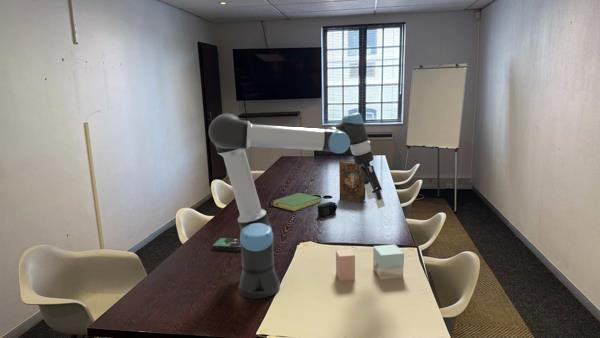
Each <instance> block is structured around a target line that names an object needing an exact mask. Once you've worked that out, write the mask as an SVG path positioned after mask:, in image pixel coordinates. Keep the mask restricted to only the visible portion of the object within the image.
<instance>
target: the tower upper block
mask: <svg viewBox="0 0 600 338" xmlns="http://www.w3.org/2000/svg"><path fill="white" fill-rule="evenodd" d="M372 253H373V254H372V257H373V258H374V259H375V261H376V262H377V263H378V265H379V266H380V267H381V268H384V267H394V266H403V267H404V263H405V260H404V259H405V253H404V252H403V251H402V249H401V248H399V246H398V245H396V244H395V243H394V244H384V245H383V244H382V245H373V251H372ZM373 258H372V259H373Z"/></svg>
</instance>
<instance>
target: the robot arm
mask: <svg viewBox="0 0 600 338" xmlns="http://www.w3.org/2000/svg"><path fill="white" fill-rule="evenodd" d="M341 120H342V121H341V122H340V123H338V124H334V125H331V126H328V127H325V128H308V127H294V126H293V127H292V126H281V125H280V126H279V125H266V124H253V123H251V122H250V121H249V120H241V119H240V117H238V116H237V115H236V114H233V113H221V114H219V115H217V116H216V117H215V118H214V119H213V120H212V121H211V123H210V125H209V127H208V136H209V139H210V141H211V143H213V145H215V149H216V151H217V154H218V155H220V156H221V157H222V158H223V161H224V165H225V168H226V172H227V174H228V178H229V182H230V184H231V185H230V186H231V188H232V191H233V195H234V199H235V202H236V205H237V209H238V211H239V216H238V218H237V222H238V226H239V230H240V235H239V239H240V242H241V254H240V255H241V266H242V267H241V270H242V271H241V273H240V274H241V275H240V280H239V281H238V291H239V294H240V295H241V296H243V297H245V298H247V299H248V298H249V299H252V300H253V299H266V298H269V297H271V296H274V295H275V294H277V293H278V292H279V291H280V288H281V287H280V286H281V284H280V278H279V277H278V273H277V271H276V268H275V257H274V256H275V255H274V233H273V228H272V224H271V223H270V221H269V220H270V219H269V216H268V213H267V211H266V210H265V209H263V208H262V207H261V202H260V198H259V195H258V192H257V189H256V185H255V182H254V178H253V174H252V170H251V167H250V164H249V160H248V159H249V158H248V155H247V153H246V150H248V149H249V148H250V147H256V148H257V147H258V148H259V147H260V148H270V149H271V148H272V149H273V148H274V149H291V150H292V149H293V150H307V151H323V152H332V153H335V154H343V153H345V152H347V151H348V149H349V148H350V151H351V154H352V155H353V156H352V158H353V162H355V164H356V165H359V168H360V173H361V179H362V182H363V184H365V185H364V186H365V194H366V196H367V199H368V200H372V199H375V203H376V206H377V207H376V208H377V209H381V208H383V207H386V205H385V201H384V198H383V194H382V191H383V189H382V187H381V184H380V181H379V179H378V177H377V174H376V172H375V168H374V165H371V162H373V160H374V155H373V151H372V147H371V145H370V144H371V141H370V140H369V136H368V133H367V130H366V127H365V126H366V125H365V122H364V120H363V116H362V114H361V113H360V112H353V113H349V114H347V115H345V116H343V117H342V118H341Z"/></svg>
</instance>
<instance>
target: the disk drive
mask: <svg viewBox="0 0 600 338" xmlns="http://www.w3.org/2000/svg"><path fill="white" fill-rule="evenodd" d="M211 249H212V250H213V251H227V252H241V242H240V238H237V237H236V238H234V237H219V238H218V240H216V241H215V243H214V244H212V248H211Z"/></svg>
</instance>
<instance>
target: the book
mask: <svg viewBox="0 0 600 338" xmlns="http://www.w3.org/2000/svg"><path fill="white" fill-rule="evenodd" d="M338 166H339V169H338V170H339V175H338V176H339V200H340V201H344V202H353V203H362V202H364V201H365V200H366V190H365V186H364V185H365V184H363V182H362V179H361V173H360V168H359V165H356V164H355V162H354V160H353V161H351V160H340V161H339V164H338Z"/></svg>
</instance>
